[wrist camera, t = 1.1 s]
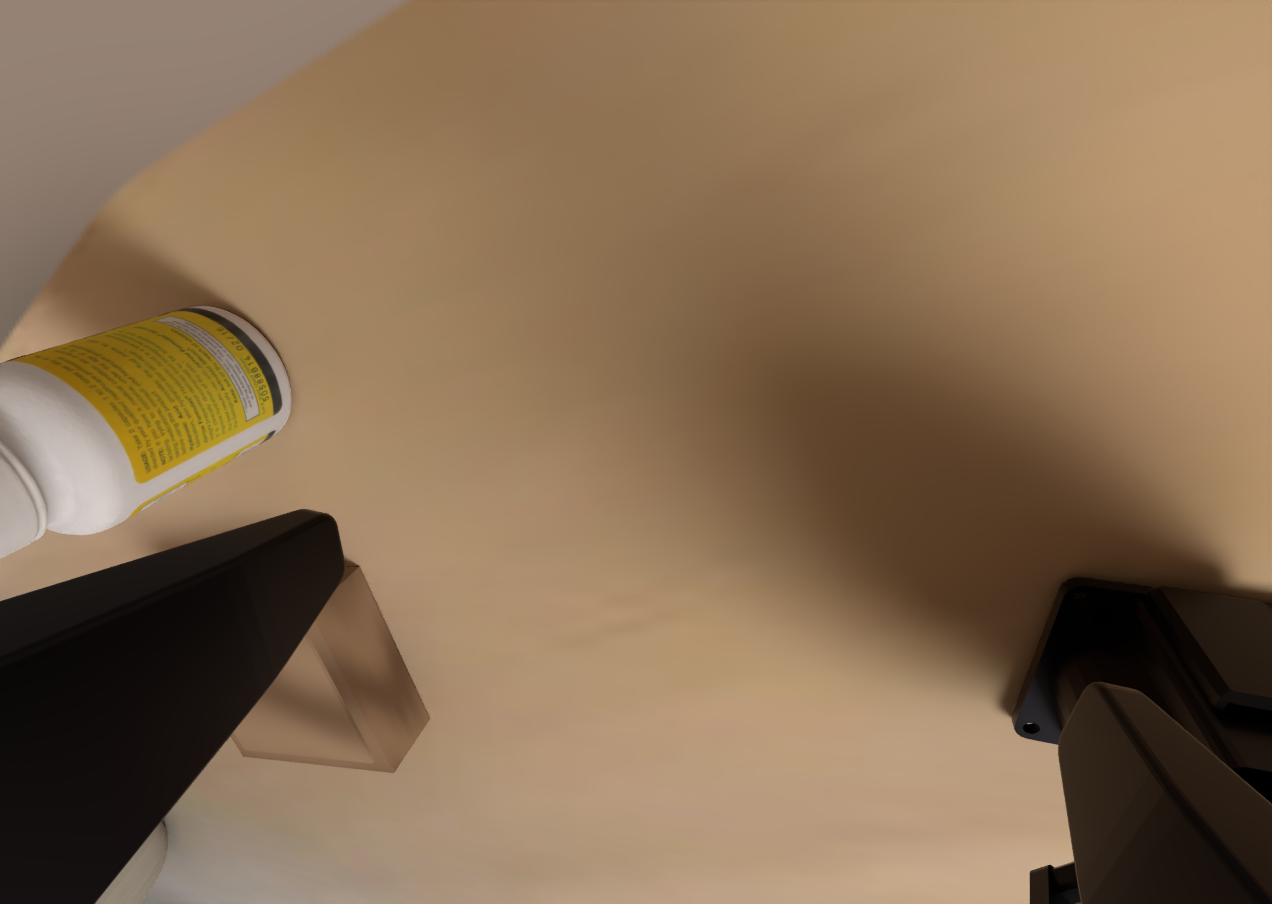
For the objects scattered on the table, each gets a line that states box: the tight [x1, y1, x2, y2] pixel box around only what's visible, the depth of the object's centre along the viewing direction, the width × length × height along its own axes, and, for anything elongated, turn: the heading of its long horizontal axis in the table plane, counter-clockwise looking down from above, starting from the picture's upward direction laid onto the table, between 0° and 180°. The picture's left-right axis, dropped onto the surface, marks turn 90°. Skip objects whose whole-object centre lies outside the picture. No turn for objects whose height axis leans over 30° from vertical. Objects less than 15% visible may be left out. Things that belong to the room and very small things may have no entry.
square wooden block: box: [230, 567, 430, 773], centre depth 30 cm, size 9×9×3 cm
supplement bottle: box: [0, 306, 292, 559], centre depth 20 cm, size 5×5×10 cm
